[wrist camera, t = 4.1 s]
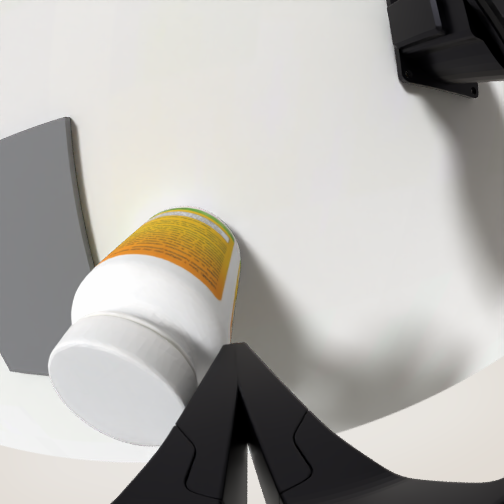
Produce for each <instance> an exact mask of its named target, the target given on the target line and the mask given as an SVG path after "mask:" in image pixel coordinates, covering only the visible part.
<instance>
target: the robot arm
mask: <svg viewBox="0 0 504 504" xmlns="http://www.w3.org/2000/svg"><path fill="white" fill-rule="evenodd" d="M386 1H387V6H388V7H387V11H388V16H389V22H390V28H391V34H392V40H393V44H394V47H395V54H396V62H397V71H398V76H399V78H400V80H401V81H402V82H404V83H407V84H413V85H418V86H423V87H427V88H432V89H436V90H441V91H445V92H449V93H453V94H457V95H460V96H464V97H468V98H477V97H478V83H477V82H489V81H504V0H386ZM405 71H406V72H407V73H408V75H409V77H407V76H406V74H405ZM471 89H472V91H471ZM175 425H176V426H173V428H172V429H171V431H170V433H169V434H168V436H167V437H166V439H165V440H164V442H163V443H162V445H161V446H160V448H159V449H158V451H157V452H156V453H155V454H154V456H153V457H152V458H151V459H150V460H149V462H148V463H147V464H146V466H145V467H144V468H143V469H142V470H141V471H140V472H139V473H138V475H137V476H136V477H135V478H134V479H133V480H132V481H131V483H130V484H129V485H128V486H127V487H126V488H125V489H124V490H123V492H122V493H121V494H120V495H119V496H118V497H117V498H116V499H115V500H114V501H113V502H112V503H111V504H247V443H248V446H249V450H250V453H251V456H252V460H253V463H254V466H255V470H256V473H257V476H258V479H259V482H260V486H261V489H262V492H263V495H264V498H265V501H266V504H504V478H502V479H499V480H496V481H492V482H485V483H484V482H483V483H462V482H443V481H429V480H420V479H412V478H407V477H403V476H400V475H398V474H395V473H393V472H391V471H389V470H387V469H386V468H384V467H382V466H381V465H379V464H378V463H376V462H374V461H373V460H372V459H370V458H369V457H367V456H366V455H364V454H363V453H361V452H360V451H358V450H357V449H355V448H354V447H352V446H351V445H350V444H348V443H347V442H346V441H344V440H343V439H341V438H340V437H339V436H337V435H336V434H335V433H334V432H332V431H331V430H330V429H329V428H328V427H327V426H326V425H325V424H323V423H322V422H321V421H320V420H319V419H318V418H317V417H316V416H315V415H314V414H313V413H312V412H311V411H308V408H307V407H306V406H305V405H304V404H303V403H302V402H301V401H300V400H299V399H298V398H297V397H296V396H295V395H294V394H293V393H292V392H291V391H290V390H289V389H288V388H287V387H286V386H285V385H284V384H283V383H282V381H281V380H280V379H279V378H278V377H277V376H276V375H275V374H274V373H273V372H272V371H271V370H270V369H269V368H268V367H267V366H266V364H265V363H264V362H263V361H262V360H261V359H260V358H259V357H258V356H257V355H256V354H255V353H254V351H253V350H252V349H251V348H250V347H249V346H248V345H247V344H246V343H245V342H242V343H233V344H225V345H223V346H222V347H221V349H220V351H219V352H218V354H217V356H216V358H215V359H214V361H213V363H212V364H211V366H210V368H209V369H208V371H207V372H206V374H205V376H204V377H203V379H202V381H201V382H200V384H199V386H198V387H197V389H196V391H195V392H194V394H193V396H192V397H191V399H190V400H189V402H188V404H187V405H186V407H185V409H184V410H183V412H182V414H181V415H180V417H179V418H178V420H177V422H176V423H175Z"/></svg>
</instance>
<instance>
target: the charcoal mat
mask: <svg viewBox="0 0 504 504" xmlns="http://www.w3.org/2000/svg"><path fill="white" fill-rule="evenodd" d="M93 269H94V264H93V260H92V256H91V252H90V247H89V243H88V239H87V234H86V229H85V225H84V220H83V214H82V209H81V204H80V198H79V192H78V186H77V179H76V172H75V164H74V156H73V147H72V136H71V124H70V117H63V118H60V119H57V120H53V121H50V122H47V123H44V124H41V125H38V126H36V127H33V128H30V129H27V130H24V131H22V132H19V133H17V134H14V135H11V136H9V137H6V138H4V139H2V140H0V353H1V355H2V357H3V359H4V361H5V363H6V364H7V366H8V368H9V370H10V371H12V372H20V373H28V374H37V375H47V376H49V371H48V362H49V358H50V354H51V352H52V351H53V349H54V348H55V346H56V345H57V344H58V342H59V341H60V340H61V338H62V337H63V336H64V334H65V333H66V332H67V330H68V329H69V328H70V327H71V326H72V320H71V310H72V304H73V300H74V296H75V293H76V291H77V289H78V287H79V286H80V284H81V282H82V281H83V280H84V279H85V277H86V276H87V275H88V274H89V273H90V272H91V271H92V270H93Z"/></svg>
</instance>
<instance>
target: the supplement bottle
mask: <svg viewBox="0 0 504 504" xmlns="http://www.w3.org/2000/svg"><path fill="white" fill-rule="evenodd" d="M240 269H241V256H240V250H239V246H238V243H237V241H236V238H235V236H234V235H233V233H232V232H231V230H230V229H229V227H228V226H227V225H226V224H225V223H224V222H223V221H222V220H221V219H219V218H218V217H217V216H215V215H214V214H212V213H210V212H208V211H206V210H203V209H201V208H197V207H191V206H179V207H173V208H169V209H166V210H164V211H161V212H159V213H158V214H156V215H155V216H153V217H152V218H150V219H149V220H148V221H147V222H145V223H144V224H143V225H142V226H141V227H140V228H139V229H138V230H136V231H135V232H134V233H133V234H132V235H131V236H129V237H128V238H127V239H126V240H125V241H124V242H123V243H121V244H120V245H119V246H118V247H117V248H116V249H115V250H114V251H112V252H111V253H110V254H109V255H108V256H107V257H106V258H105V259H103V260H102V261H101V262H100V263H99V264H98V265H97V266H96V267H95V268H94V269H93V270H92V271H91V272H90V273H89V274H88V275H87V276H86V277H85V279H84V280H83V281H82V282H81V284H80V286H79V287H78V289H77V291H76V293H75V296H74V300H73V304H72V310H71V320H72V326H71V327H70V328H69V329H68V330H67V332H66V333H65V334H64V336H63V337H62V338H61V340H60V341H59V342H58V344H57V345H56V346H55V348H54V349H53V351H52V352H51V354H50V358H49V362H48V371H49V377H50V380H51V382H52V385H53V387H54V389H55V391H56V393H57V394H58V396H59V397H60V399H61V400H62V401H63V402H64V404H65V405H66V406H67V407H68V408H69V409H70V410H71V411H72V412H73V413H74V414H75V415H76V416H77V417H79V418H80V419H81V420H82V421H84V422H85V423H86V424H88V425H89V426H91V427H92V428H94V429H96V430H97V431H99V432H101V433H103V434H105V435H107V436H109V437H112V438H114V439H117V440H119V441H122V442H126V443H130V444H134V445H140V446H161V445H162V443H163V442H164V440H165V439H166V437H167V436H168V434H169V433H170V431H171V429H172V428H173V426H176V425H175V423H176V422H177V420H178V418H179V417H180V415H181V414H182V412H183V410H184V409H185V407H186V405H187V404H188V402H189V400H190V399H191V397H192V396H193V394H194V392H195V391H196V389H197V387H198V386H199V384H200V382H201V381H202V379H203V377H204V376H205V374H206V372H207V371H208V369H209V368H210V366H211V364H212V363H213V361H214V359H215V358H216V356H217V354H218V352H219V351H220V349H221V347H222V346H223V345H225V344H230V342H231V333H232V325H233V318H234V311H235V304H236V298H237V290H238V284H239V278H240Z"/></svg>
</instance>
